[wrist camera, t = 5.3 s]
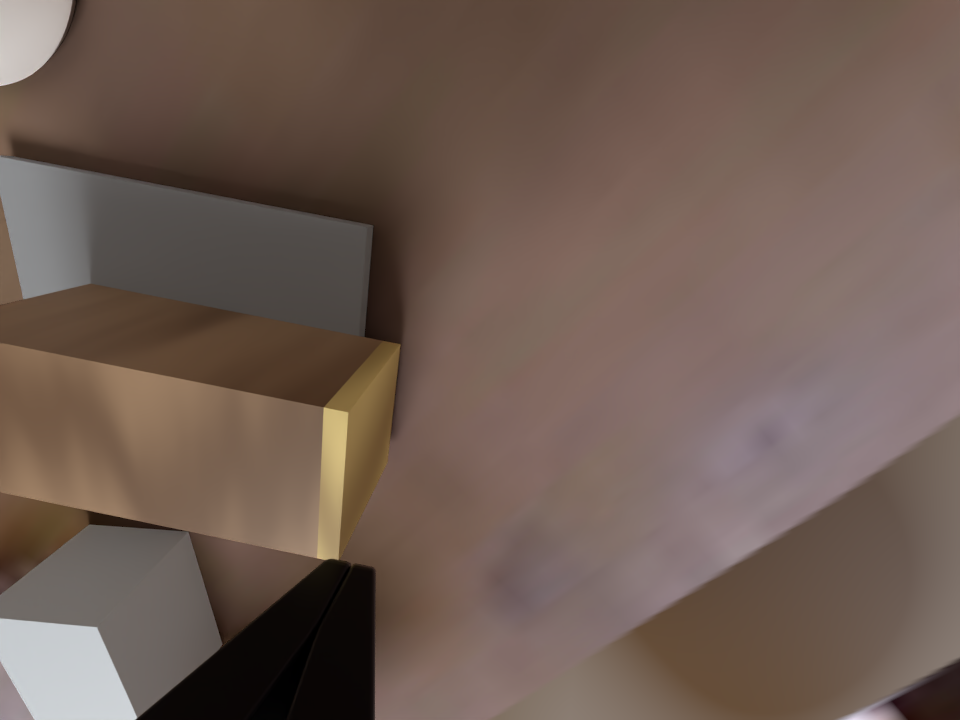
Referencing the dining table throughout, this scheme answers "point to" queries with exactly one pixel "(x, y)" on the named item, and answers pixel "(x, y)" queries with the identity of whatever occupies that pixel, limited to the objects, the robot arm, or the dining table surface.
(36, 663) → the blue-grey block
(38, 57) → the can
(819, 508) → the dining table surface
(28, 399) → the walnut block
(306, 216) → the mat
